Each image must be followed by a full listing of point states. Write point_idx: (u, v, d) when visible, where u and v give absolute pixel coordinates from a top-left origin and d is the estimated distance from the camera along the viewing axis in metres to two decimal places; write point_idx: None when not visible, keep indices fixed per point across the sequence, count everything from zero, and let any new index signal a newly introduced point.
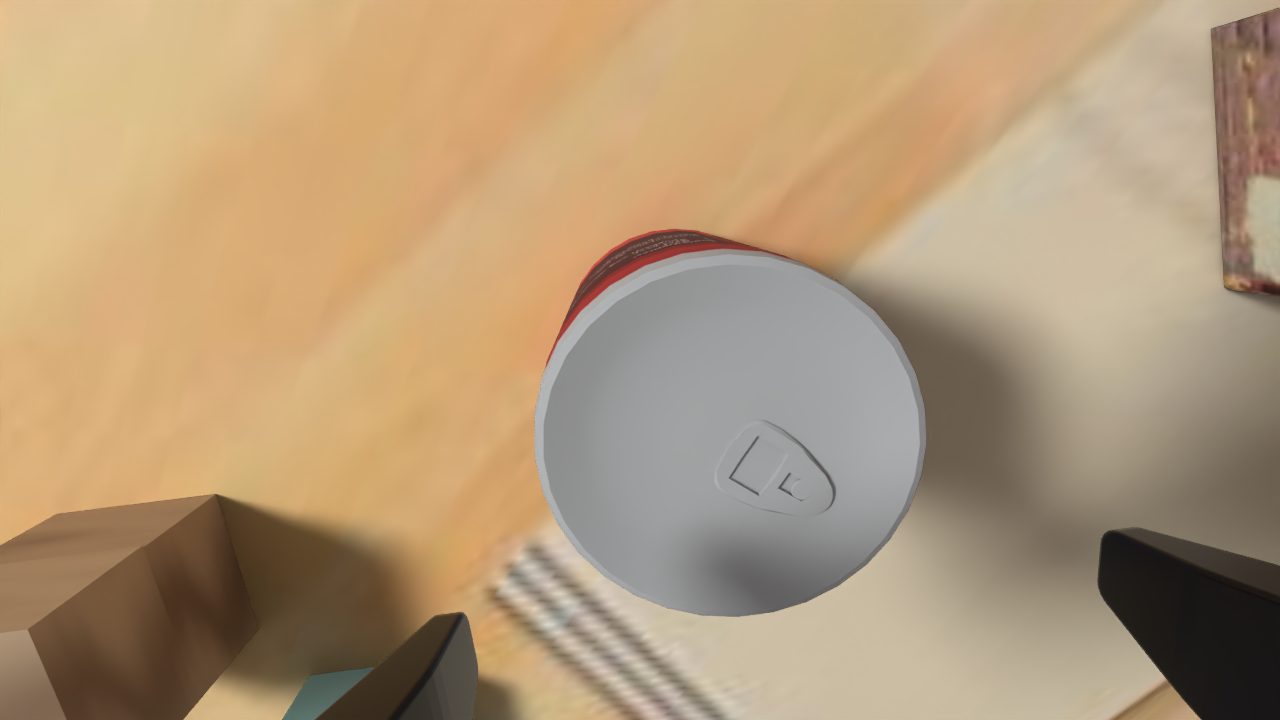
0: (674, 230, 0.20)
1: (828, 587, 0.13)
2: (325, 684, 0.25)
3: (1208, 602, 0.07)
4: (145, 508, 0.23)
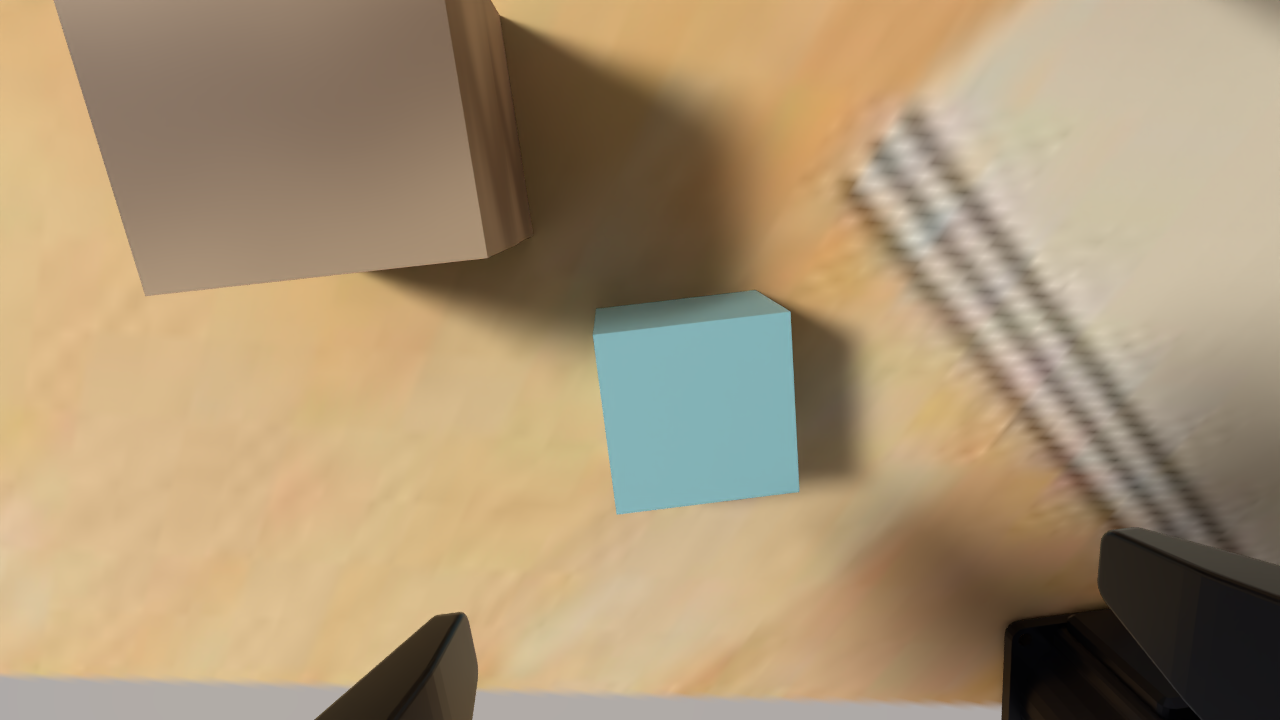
0: None
1: None
2: (626, 308, 0.19)
3: (1208, 602, 0.07)
4: None
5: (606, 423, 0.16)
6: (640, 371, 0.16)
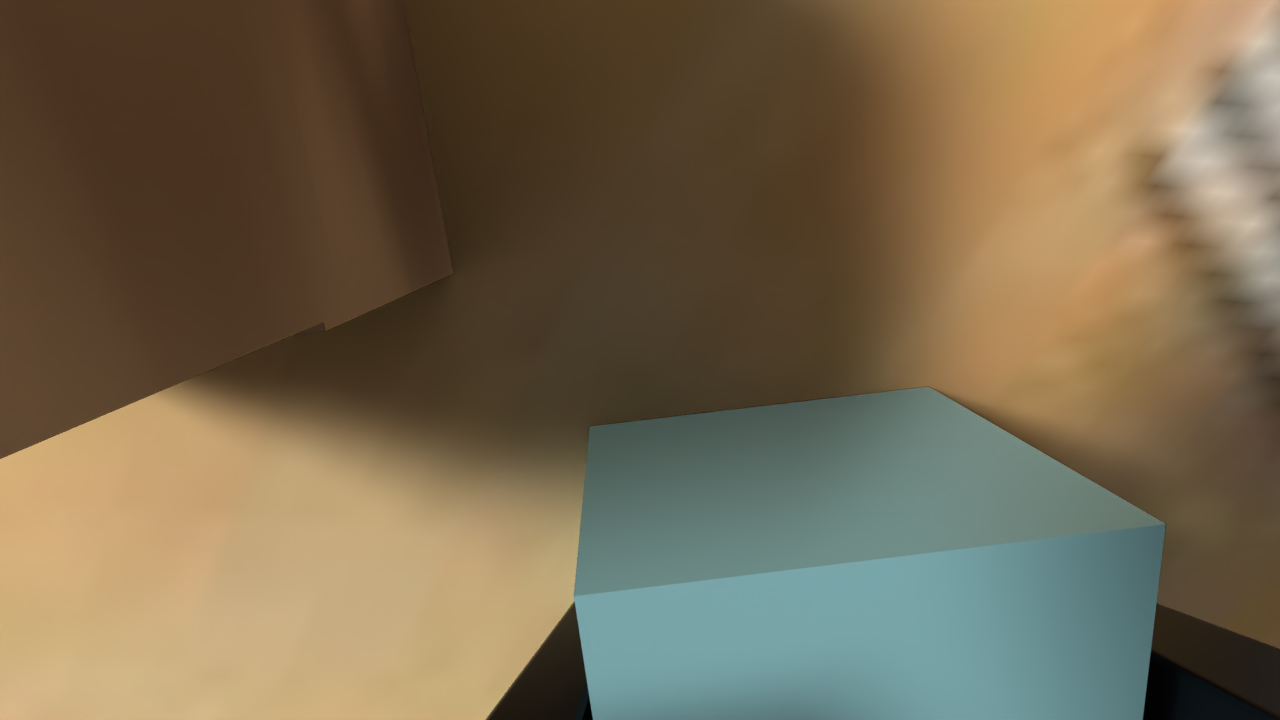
0: None
1: None
2: (657, 439, 0.08)
3: None
4: None
5: None
6: (713, 689, 0.05)
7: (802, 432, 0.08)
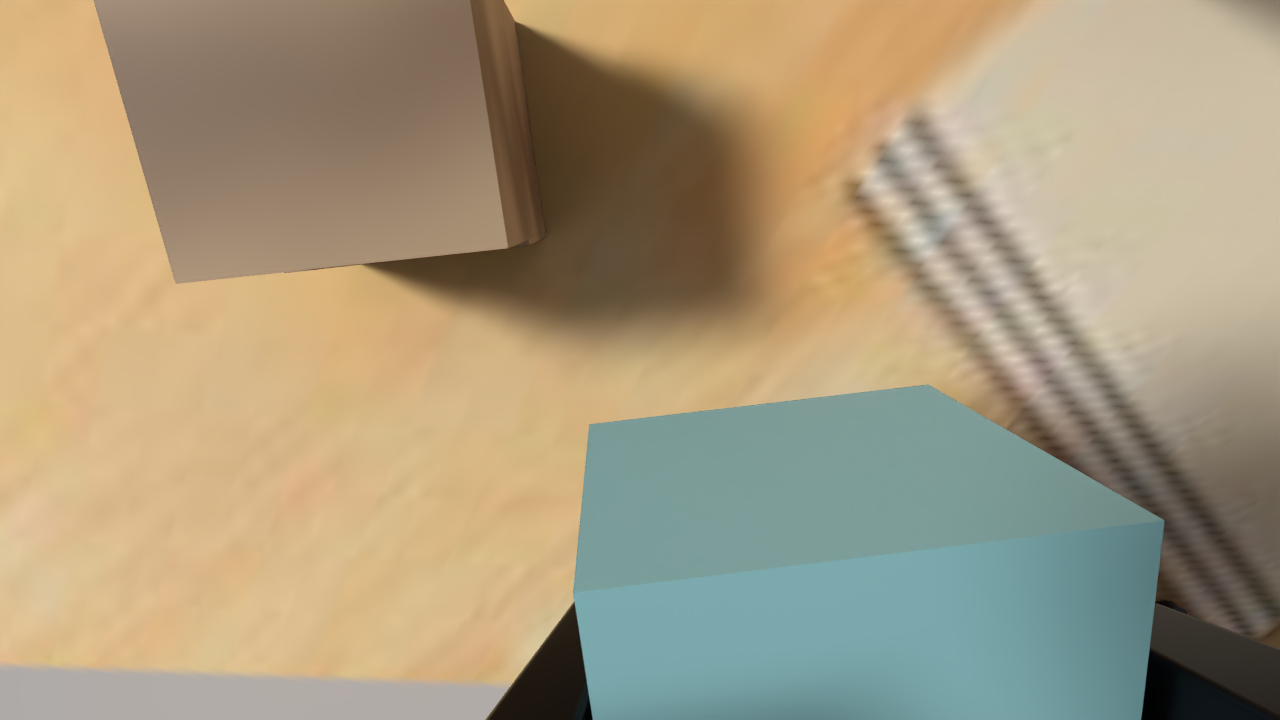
0: None
1: None
2: (656, 436, 0.08)
3: None
4: None
5: None
6: (712, 687, 0.05)
7: (801, 430, 0.08)
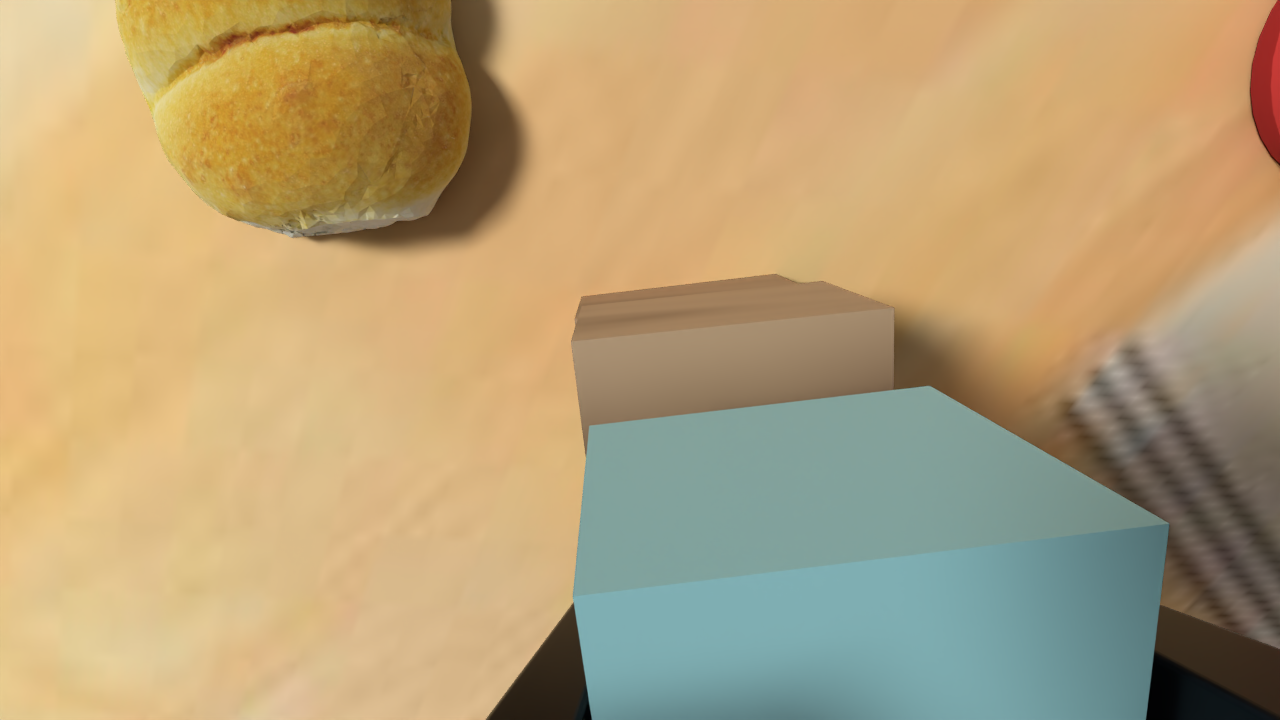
0: None
1: None
2: (656, 438, 0.08)
3: None
4: (705, 284, 0.18)
5: None
6: (713, 691, 0.05)
7: (802, 431, 0.08)
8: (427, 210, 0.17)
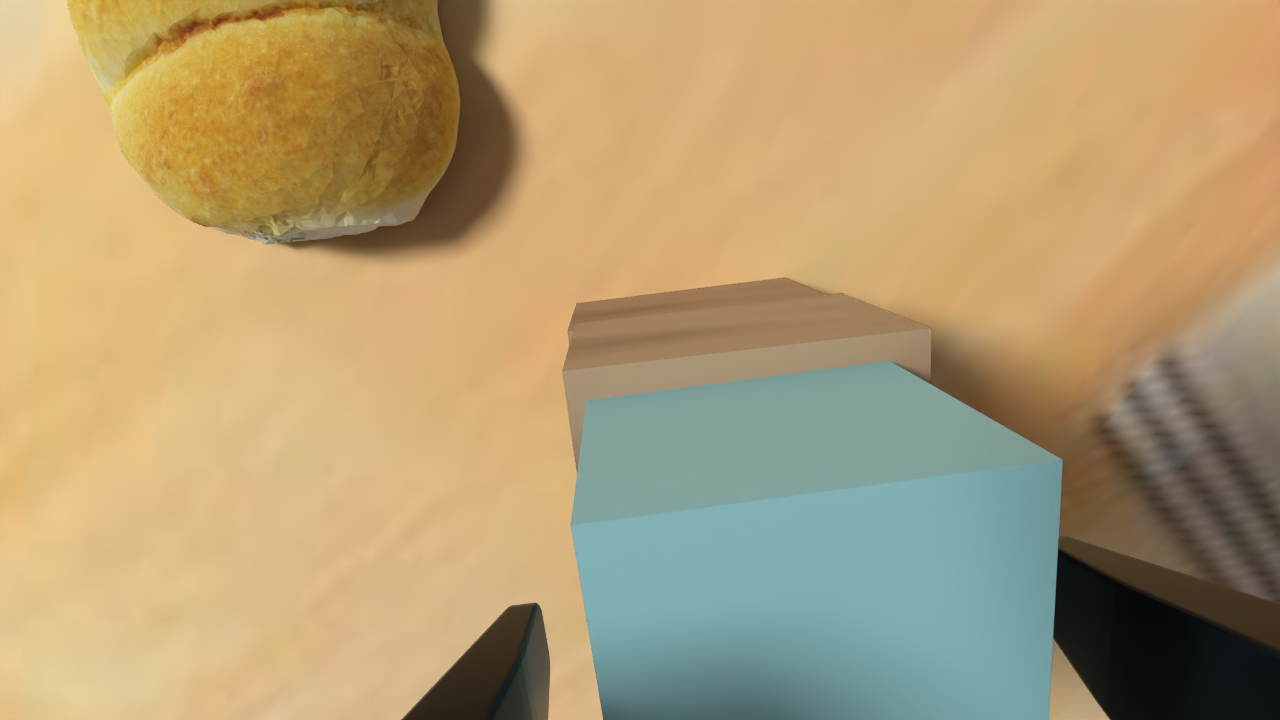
0: None
1: None
2: (645, 409, 0.09)
3: (1122, 613, 0.07)
4: (710, 290, 0.17)
5: (607, 718, 0.07)
6: (689, 605, 0.06)
7: (773, 400, 0.09)
8: (412, 214, 0.16)
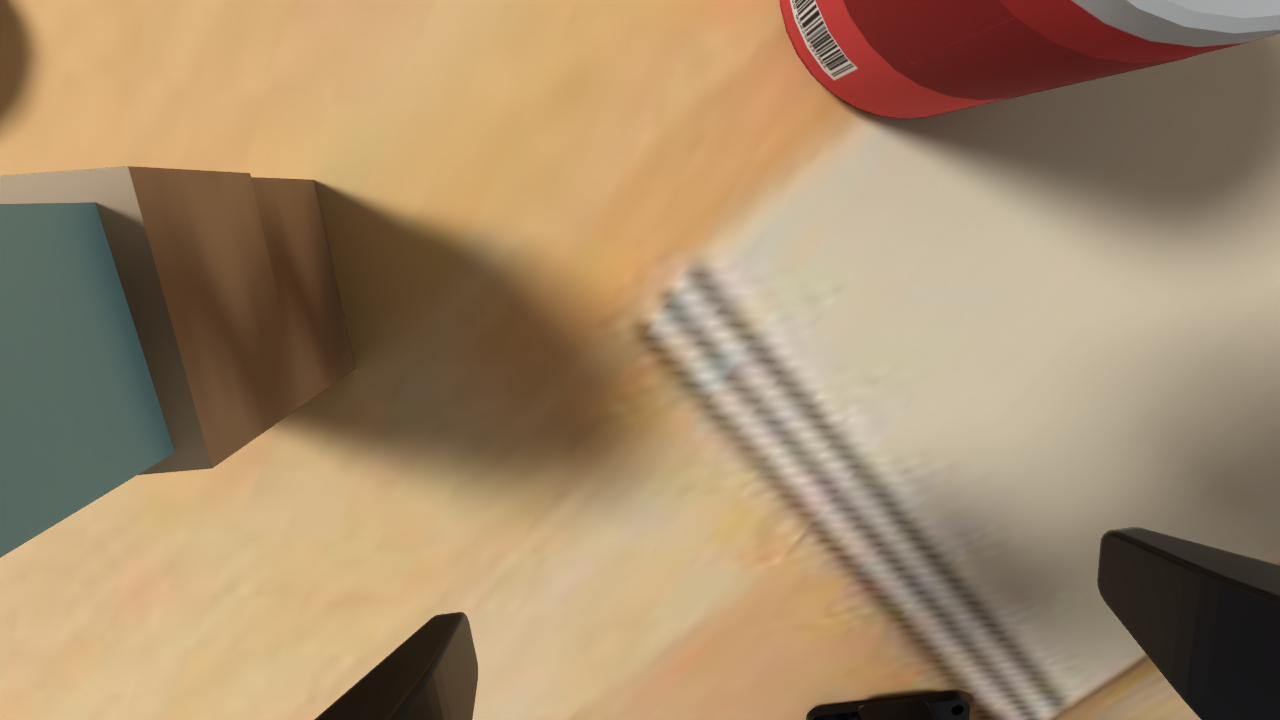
0: None
1: None
2: None
3: (1208, 602, 0.07)
4: None
5: None
6: None
7: None
8: None
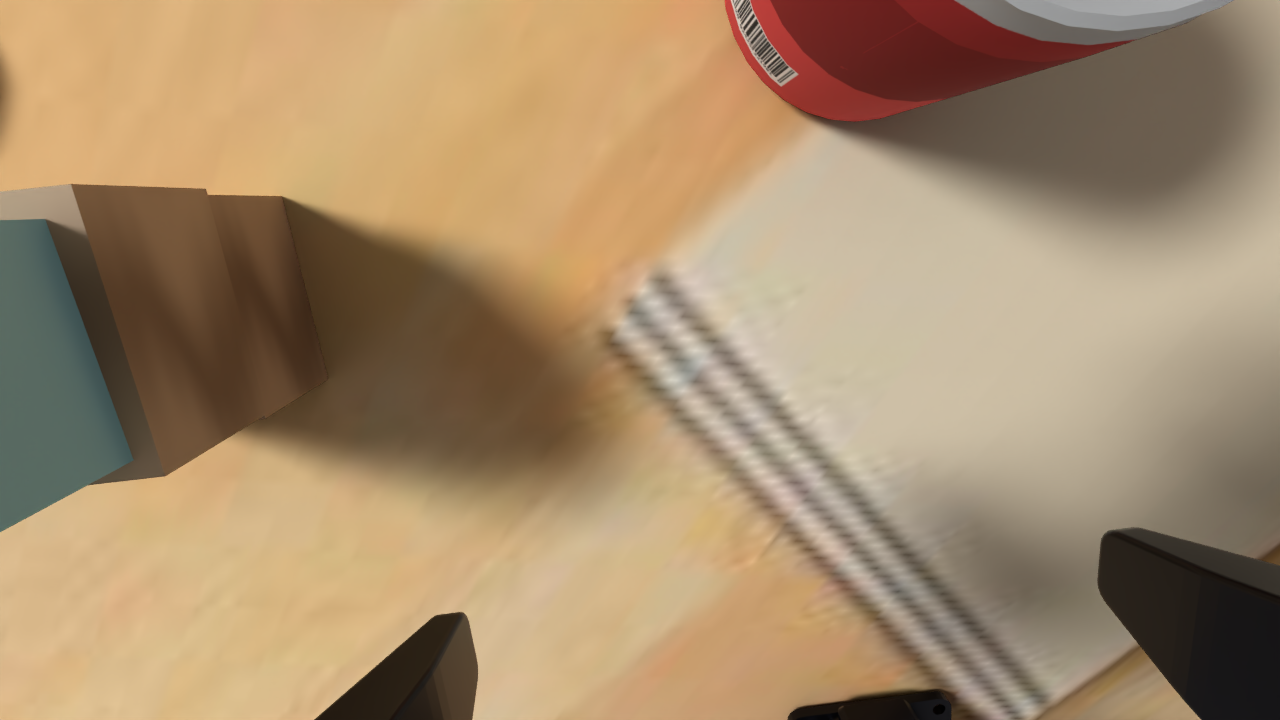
0: None
1: None
2: None
3: (1208, 602, 0.07)
4: None
5: None
6: None
7: None
8: None
